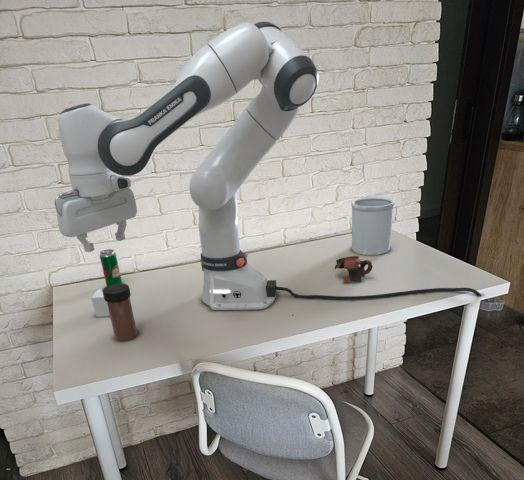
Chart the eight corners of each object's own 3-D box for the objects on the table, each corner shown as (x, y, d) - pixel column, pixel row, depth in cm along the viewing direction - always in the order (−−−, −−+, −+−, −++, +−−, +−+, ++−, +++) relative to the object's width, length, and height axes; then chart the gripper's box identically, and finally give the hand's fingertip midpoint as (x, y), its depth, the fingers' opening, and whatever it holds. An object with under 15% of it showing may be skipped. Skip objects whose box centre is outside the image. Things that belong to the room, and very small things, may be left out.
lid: (135, 292, 123) (133, 284, 122) (122, 303, 117) (120, 294, 116) (113, 291, 124) (111, 282, 123) (99, 301, 119) (97, 293, 118)
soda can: (118, 289, 155) (110, 254, 149) (104, 289, 156) (95, 253, 150) (125, 283, 159) (117, 248, 153) (111, 283, 160) (103, 248, 154)
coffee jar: (141, 331, 128) (132, 286, 122) (130, 342, 123) (120, 295, 117) (122, 329, 130) (112, 285, 123) (110, 340, 125) (99, 294, 118)
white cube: (102, 308, 143) (98, 289, 140) (122, 307, 143) (118, 288, 140) (95, 316, 138) (91, 297, 135) (116, 316, 138) (111, 296, 135)
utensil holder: (367, 258, 167) (370, 208, 159) (341, 248, 179) (343, 200, 170) (399, 250, 173) (404, 201, 164) (372, 240, 185) (375, 194, 176)
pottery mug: (334, 285, 150) (330, 259, 150) (340, 287, 158) (337, 263, 158) (373, 277, 145) (368, 250, 145) (377, 280, 154) (373, 255, 154)
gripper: (62, 196, 98) (78, 260, 105) (135, 178, 113) (145, 235, 120) (43, 194, 102) (60, 256, 108) (117, 176, 116) (128, 232, 123)
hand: (105, 245), depth 114 cm, fingers open, 8 cm apart
